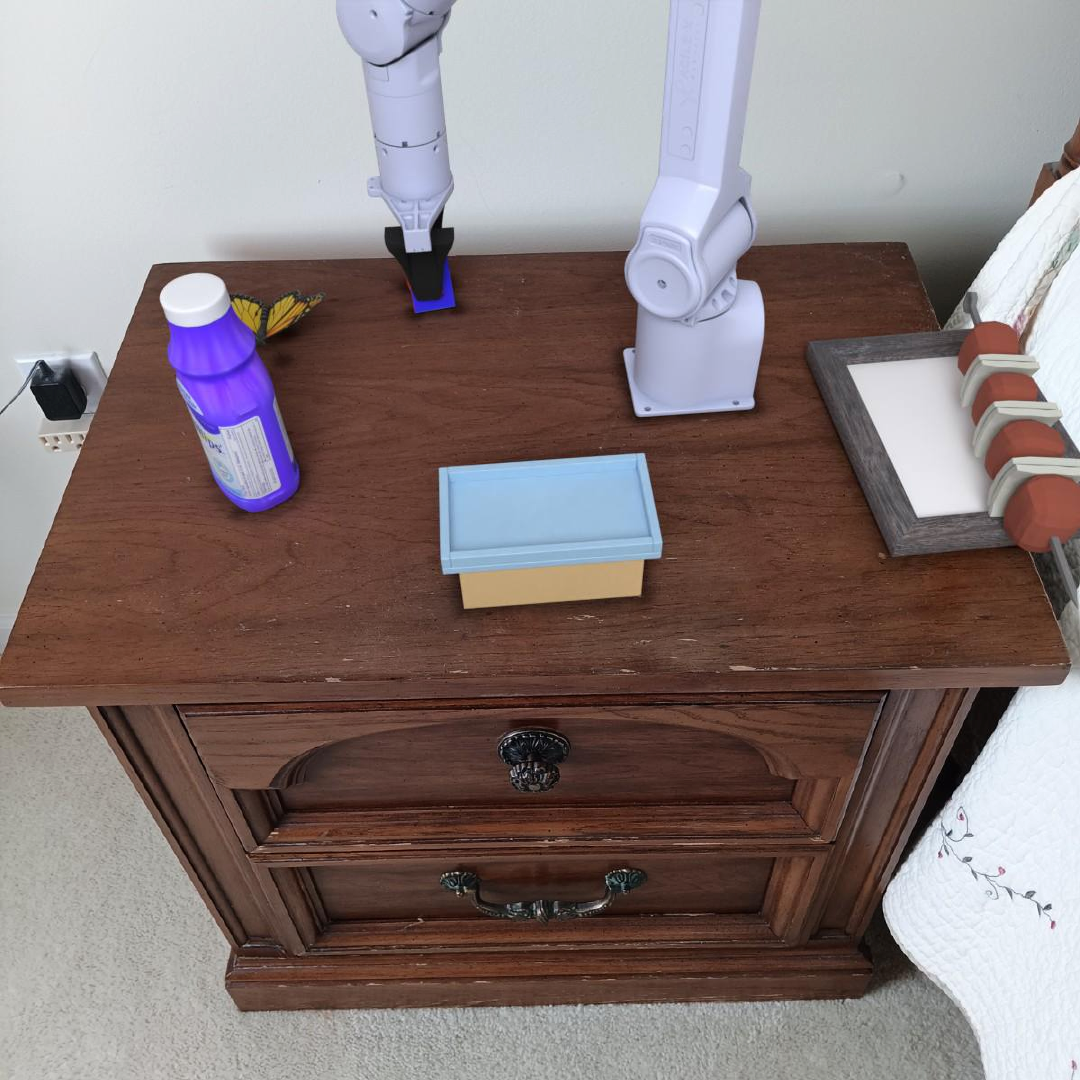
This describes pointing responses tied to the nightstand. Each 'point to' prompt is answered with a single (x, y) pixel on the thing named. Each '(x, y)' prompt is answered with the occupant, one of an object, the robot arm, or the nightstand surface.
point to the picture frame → (913, 438)
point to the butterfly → (272, 313)
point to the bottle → (228, 394)
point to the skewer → (1019, 442)
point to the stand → (548, 529)
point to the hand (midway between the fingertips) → (428, 275)
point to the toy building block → (446, 295)
